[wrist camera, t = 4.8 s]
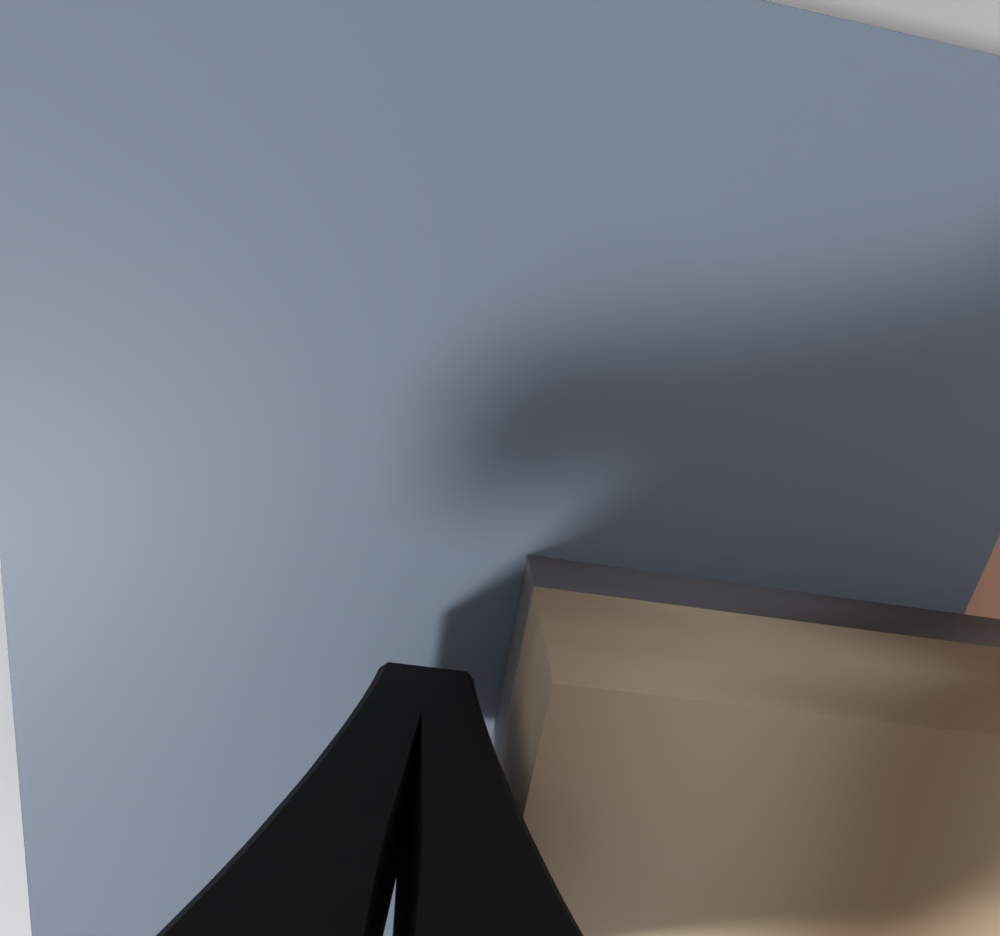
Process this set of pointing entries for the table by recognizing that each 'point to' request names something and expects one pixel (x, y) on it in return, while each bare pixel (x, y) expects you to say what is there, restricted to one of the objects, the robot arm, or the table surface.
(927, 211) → the textbook
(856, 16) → the table surface
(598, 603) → the eraser
